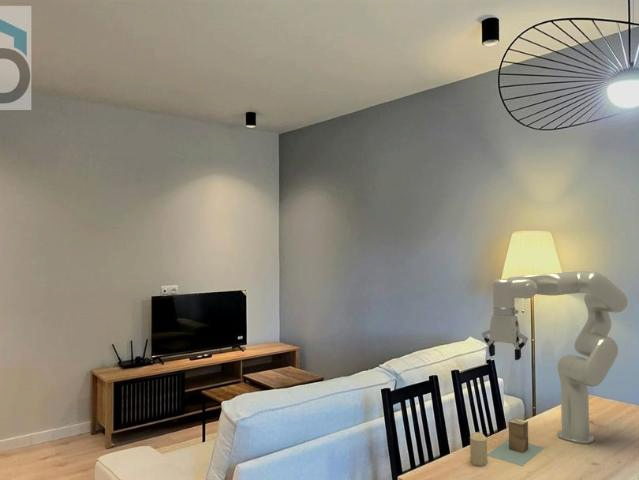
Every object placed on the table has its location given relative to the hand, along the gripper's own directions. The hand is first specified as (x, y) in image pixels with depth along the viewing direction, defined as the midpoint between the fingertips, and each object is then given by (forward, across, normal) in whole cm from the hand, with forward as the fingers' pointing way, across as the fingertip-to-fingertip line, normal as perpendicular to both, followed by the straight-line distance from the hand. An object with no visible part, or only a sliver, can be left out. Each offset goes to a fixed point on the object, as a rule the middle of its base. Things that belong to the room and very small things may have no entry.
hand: (504, 357), depth 184 cm
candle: (+33, 0, +21) cm, 39 cm away
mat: (+33, -6, +4) cm, 33 cm away
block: (+32, -6, +2) cm, 33 cm away
